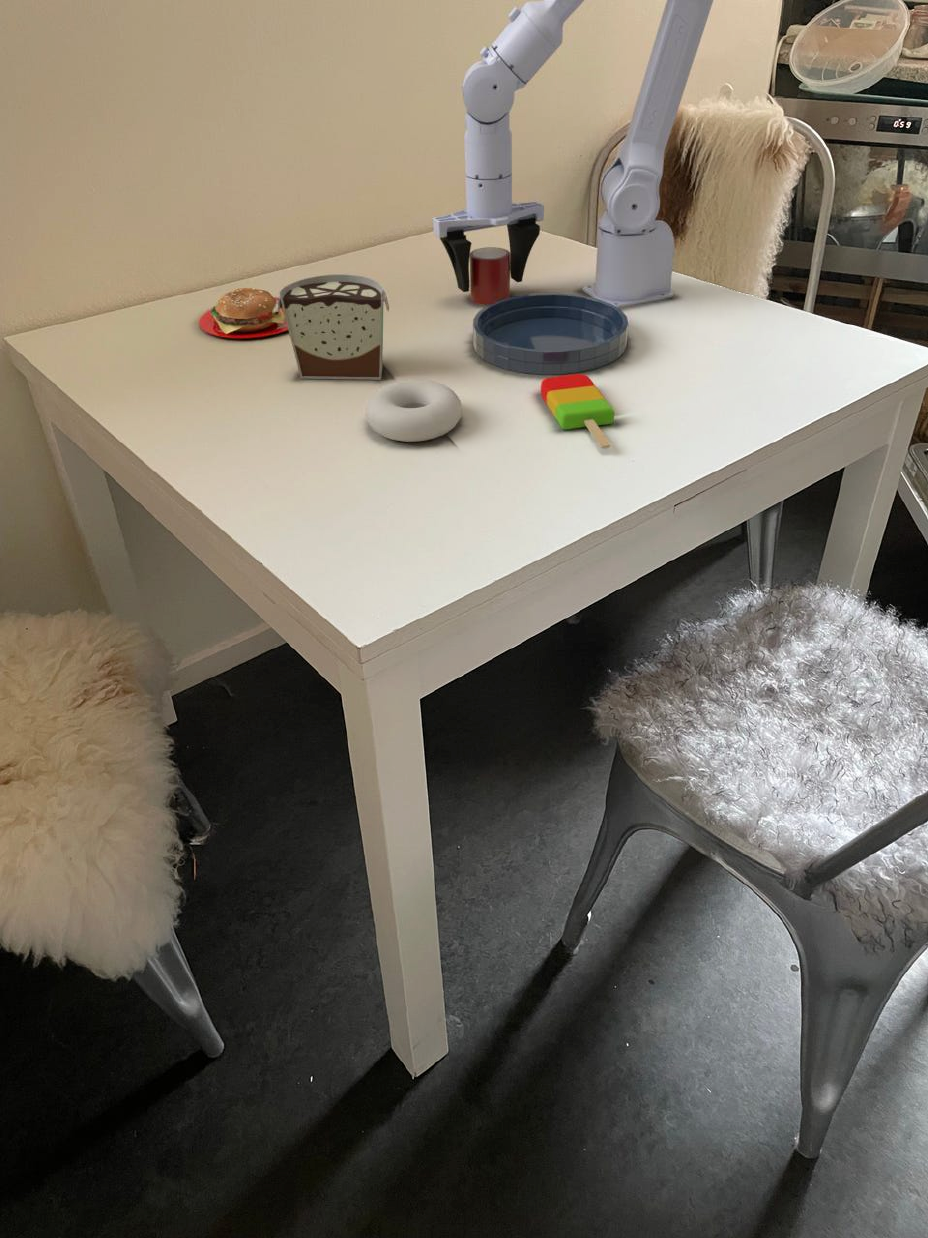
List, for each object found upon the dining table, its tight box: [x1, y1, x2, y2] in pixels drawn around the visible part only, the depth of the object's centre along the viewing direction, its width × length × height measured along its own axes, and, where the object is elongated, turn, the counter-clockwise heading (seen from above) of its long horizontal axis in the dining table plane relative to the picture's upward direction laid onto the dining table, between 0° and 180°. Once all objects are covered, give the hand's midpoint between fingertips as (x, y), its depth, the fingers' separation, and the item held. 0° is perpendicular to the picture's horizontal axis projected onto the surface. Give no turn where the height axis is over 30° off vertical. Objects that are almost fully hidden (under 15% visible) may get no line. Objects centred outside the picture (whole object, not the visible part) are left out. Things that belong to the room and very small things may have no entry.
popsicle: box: [540, 373, 615, 449], centre depth 99 cm, size 6×15×2 cm, turn 12°
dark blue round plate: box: [472, 292, 629, 376], centre depth 114 cm, size 18×18×3 cm
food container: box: [277, 273, 390, 381], centre depth 109 cm, size 12×6×10 cm, turn 84°
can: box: [469, 246, 511, 306], centre depth 126 cm, size 5×5×6 cm
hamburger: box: [198, 286, 289, 339], centre depth 123 cm, size 14×14×6 cm
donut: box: [365, 379, 463, 443], centre depth 99 cm, size 10×4×10 cm
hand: (490, 284), depth 126 cm, fingers open, 7 cm apart
